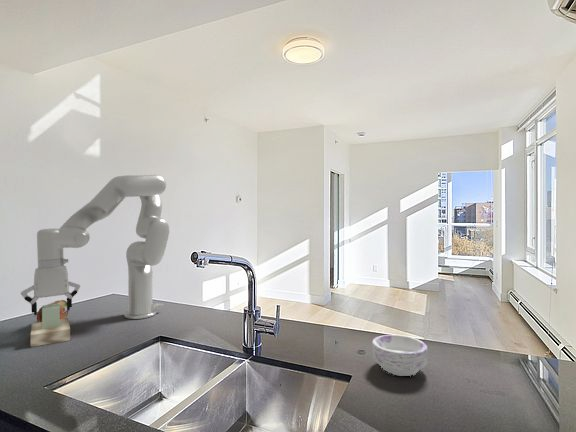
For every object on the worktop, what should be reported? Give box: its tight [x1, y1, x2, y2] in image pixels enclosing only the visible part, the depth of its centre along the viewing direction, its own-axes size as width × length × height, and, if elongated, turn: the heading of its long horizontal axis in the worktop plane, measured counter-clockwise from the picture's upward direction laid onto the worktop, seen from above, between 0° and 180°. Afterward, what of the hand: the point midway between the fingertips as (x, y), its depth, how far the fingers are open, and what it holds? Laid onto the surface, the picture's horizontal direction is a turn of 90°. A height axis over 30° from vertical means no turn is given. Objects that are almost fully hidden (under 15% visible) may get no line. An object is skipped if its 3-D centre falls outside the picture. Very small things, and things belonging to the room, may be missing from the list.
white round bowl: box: [371, 334, 429, 375], centre depth 100 cm, size 15×15×8 cm
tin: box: [36, 299, 70, 323], centre depth 137 cm, size 15×3×8 cm, turn 179°
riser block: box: [30, 317, 71, 348], centre depth 122 cm, size 11×14×4 cm
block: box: [41, 304, 60, 329], centre depth 122 cm, size 5×5×7 cm
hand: (52, 311), depth 122 cm, fingers open, 9 cm apart
